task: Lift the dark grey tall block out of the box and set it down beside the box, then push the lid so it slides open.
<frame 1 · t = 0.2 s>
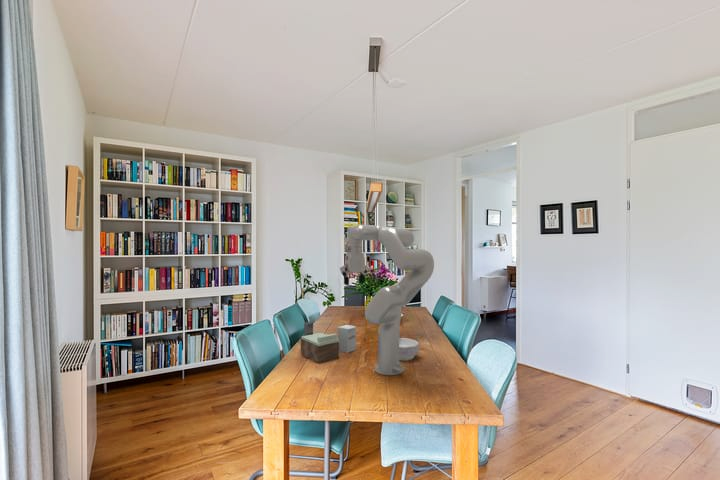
hand: (354, 283, 176), 37 cm above the table, tool pointing down, fingers open, 9 cm apart
dark grey tall block: (308, 341, 184), point 5 cm above the table, touching box
supplement box: (346, 350, 186), on the table
paper bowls: (403, 358, 175), on the table
lid: (319, 336, 175), point 10 cm above the table, slide at 0.0 cm
box: (319, 356, 175), on the table
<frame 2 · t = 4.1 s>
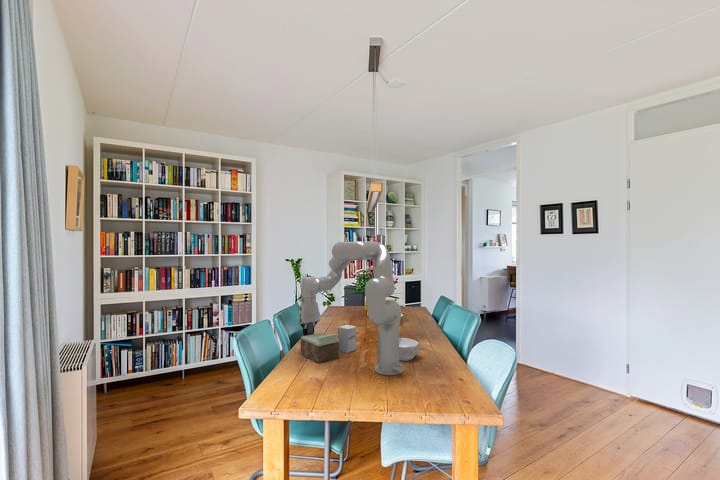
hand: (308, 334, 184), 9 cm above the table, tool pointing down, fingers closed on dark grey tall block, 3 cm apart
dark grey tall block: (308, 341, 184), point 5 cm above the table, touching box, gripper
everything else where it was.
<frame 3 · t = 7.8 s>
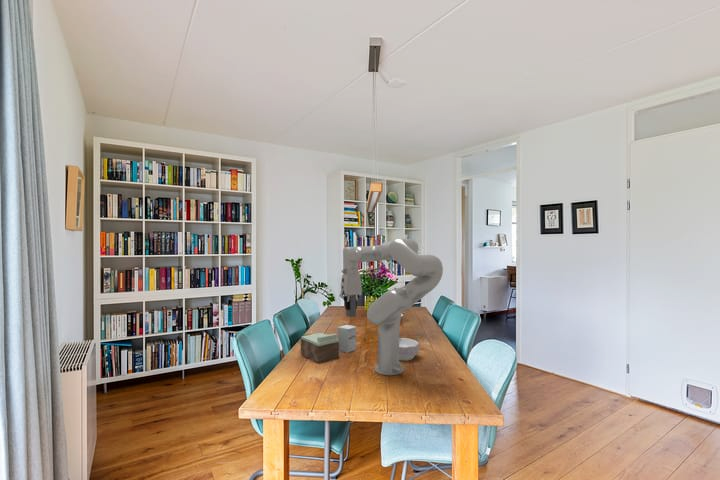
hand: (351, 308, 172), 25 cm above the table, tool pointing down, fingers closed on dark grey tall block, 3 cm apart
dark grey tall block: (351, 316, 172), point 21 cm above the table, touching gripper
everything else where it was.
when the fingers open (5 cm above the table, at t = 12.1 s): dark grey tall block drops 2 cm, on the table.
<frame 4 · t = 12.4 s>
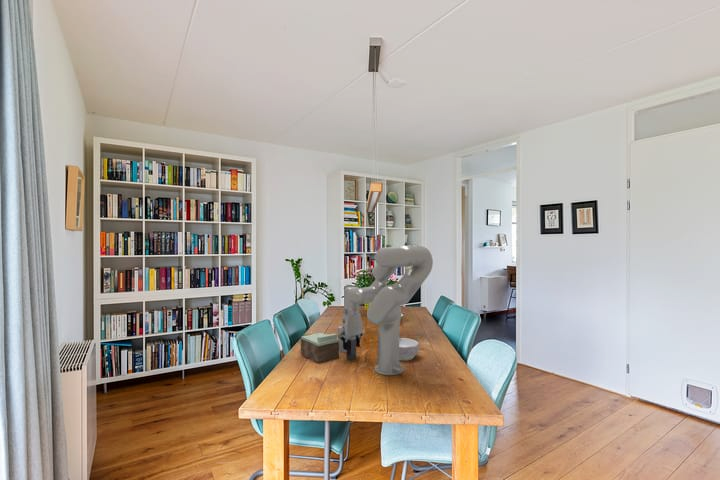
hand: (351, 347, 172), 6 cm above the table, tool pointing down, fingers open, 6 cm apart
dark grey tall block: (351, 359, 171), on the table
everything else where it was.
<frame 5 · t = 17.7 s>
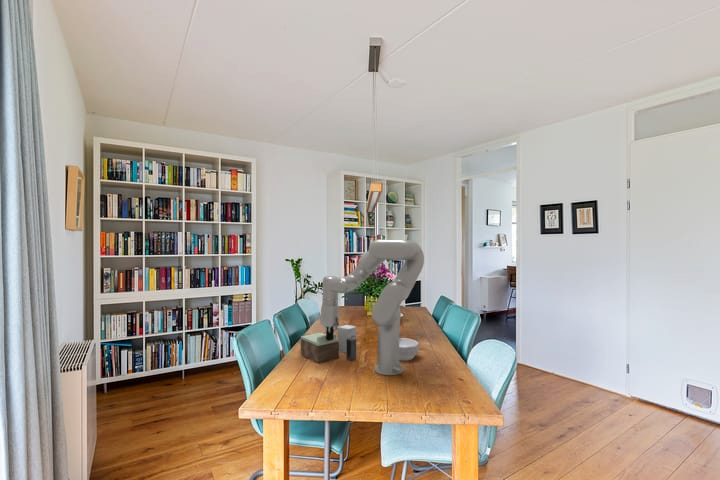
hand: (329, 339, 168), 10 cm above the table, tool pointing down, fingers closed
lid: (319, 336, 176), point 10 cm above the table, slide at 0.4 cm, touching gripper
everything else where it was.
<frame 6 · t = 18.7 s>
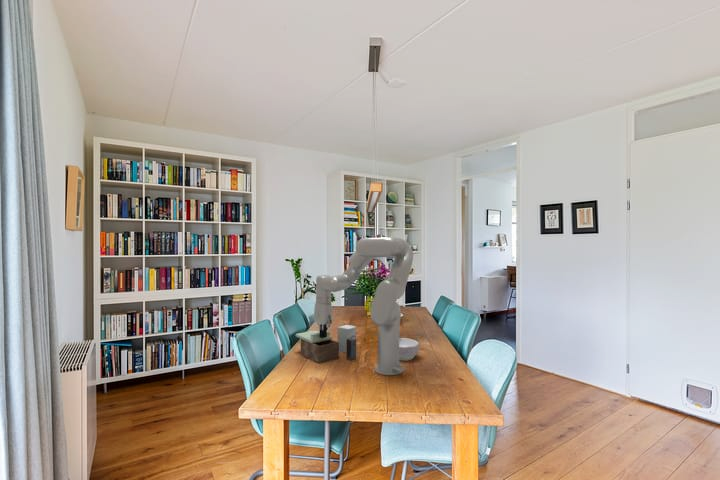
hand: (323, 337, 173), 10 cm above the table, tool pointing down, fingers closed
lid: (313, 334, 180), point 10 cm above the table, slide at 6.1 cm, touching gripper
everything else where it was.
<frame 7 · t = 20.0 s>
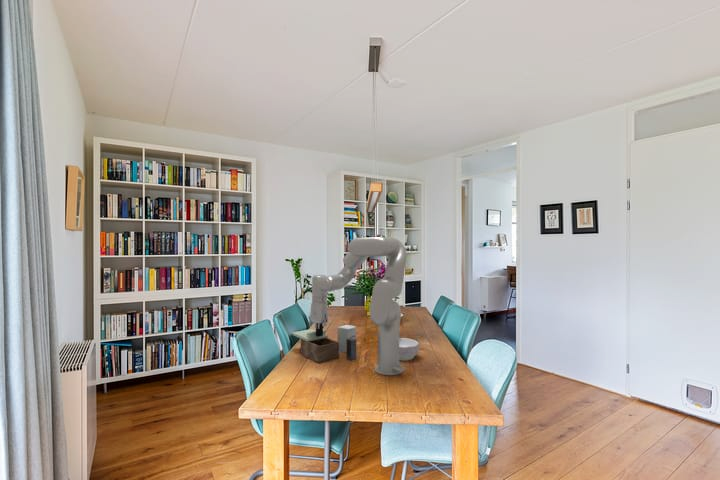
hand: (319, 335, 176), 10 cm above the table, tool pointing down, fingers closed
lid: (309, 332, 183), point 10 cm above the table, slide at 9.8 cm, touching gripper
everything else where it was.
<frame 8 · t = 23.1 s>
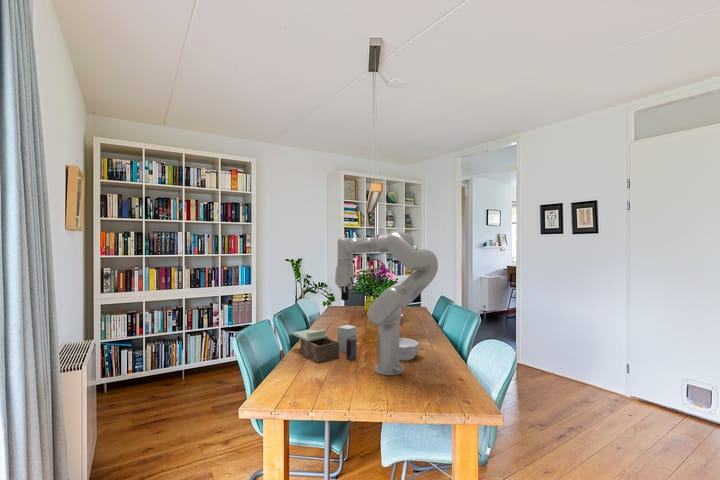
hand: (344, 299, 173), 29 cm above the table, tool pointing down, fingers closed
lid: (309, 332, 183), point 10 cm above the table, slide at 9.8 cm
everything else where it was.
at the end: lid slide at 9.8 cm; dark grey tall block moved 26.5 cm from its start; the gripper is holding nothing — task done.
